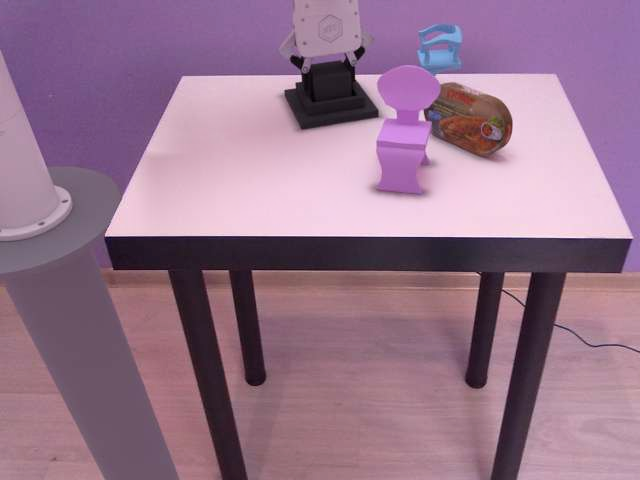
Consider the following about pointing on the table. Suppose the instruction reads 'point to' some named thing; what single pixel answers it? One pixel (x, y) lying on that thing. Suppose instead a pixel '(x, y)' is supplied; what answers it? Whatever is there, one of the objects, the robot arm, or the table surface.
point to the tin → (470, 119)
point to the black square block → (330, 81)
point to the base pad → (329, 107)
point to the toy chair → (405, 126)
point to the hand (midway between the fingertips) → (329, 88)
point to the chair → (440, 58)
